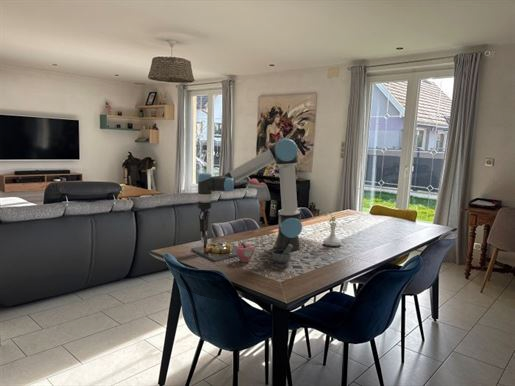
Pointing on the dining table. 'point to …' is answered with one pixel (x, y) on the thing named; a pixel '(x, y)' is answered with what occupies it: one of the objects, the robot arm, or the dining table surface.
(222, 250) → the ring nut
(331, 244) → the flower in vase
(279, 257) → the mortar and pestle
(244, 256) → the red apple
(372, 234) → the dining table surface
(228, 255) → the gray square tray
